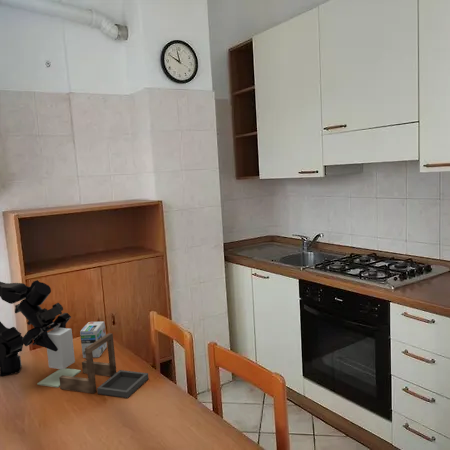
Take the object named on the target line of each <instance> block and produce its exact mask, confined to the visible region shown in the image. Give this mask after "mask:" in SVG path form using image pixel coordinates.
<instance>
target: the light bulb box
mask: <svg viewBox="0 0 450 450" xmlns="http://www.w3.org/2000/svg"><path fill="white" fill-rule="evenodd" d="M79 335H80V336H79V337H80V344H81V352H82V358H83V359H86V354H85V348H86V347H88V346H89V345H91V344H93V343H94V342H96V341H97V340H99V339H100V338H102V337H104V336H105V335H107V334H106V324H105V321H89V322H87V323H86V324H85V325H84V326H83V327H82V328H81V330H80V331H79ZM107 348H108V346H107V342H106V343H104V344H103V345H101V346H100V347H98V348H97V349H95V350H94V351H92V354H93V358H100V356H102V354H103V352H104V351H105V350H106V349H107Z"/></svg>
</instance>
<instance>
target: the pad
mask: <svg viewBox="0 0 450 450" xmlns="http://www.w3.org/2000/svg"><path fill="white" fill-rule="evenodd" d="M81 372H82V370H81V369H75V368H67V367H66V368H65V369H57V370H56V371H54V372H53V373H51V374H49V375H48V376H47V377H45V378H43V379H42V380H40V381H39V382H37V385H38V386H42V387H43V386H44V387H52V388H60V379H59V377H61V376H62V375H64V376H71V377H76V376H78V374H79V373H81Z"/></svg>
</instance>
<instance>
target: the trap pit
mask: <svg viewBox="0 0 450 450" xmlns="http://www.w3.org/2000/svg"><path fill="white" fill-rule="evenodd" d="M116 372H117V373H116V374H114V375H113V376H112V377H109V378H108V379H107V380H105V381H104V382H103V383H102V384H100V385H99V386H98V387H96V393H97V395H99V396H100V395H101V396H107V397H108V396H109V397H115V398H122V399H123V398H124V399H129V398H130V397H131V396H132V395H133V394H134V393H135V392H136V391H137V390H139V388H141V387H142V386H143V385H144V384H145V383H146V382H147V381H148V380H149V379H150V377H149V373H147V372H140V371H133V370H132V371H131V370H124V369H123V370H122V369H119V370H118V371H116Z"/></svg>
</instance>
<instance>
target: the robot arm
mask: <svg viewBox="0 0 450 450" xmlns="http://www.w3.org/2000/svg"><path fill="white" fill-rule="evenodd" d="M51 293H52V288H51V287H50V285H49V284H46V283H44V282H40V281H39V280H38V279H37V280H34V281H32V282H31V284H30V286H27V284H26V283H23V282H12V283H11V282H10V283H8V282H7V283H6V282H2V281H0V299H1V300H2V301H3V302H6V303H7V304H10V305H11V304H15V303H17V302H20V303H18V304H15V305H14V307H15V308H14V314H18V313H20V314H22V315H23V316H24V318H26V320H27V323H26V324H27V325H28V326H32V328H30V329H29V330H27V332H26V333H25V335H22V333H21V332H20V331H18V329H17V327H15V326H11V327H10V328H9V327H6V326H5V324H4V323H2V322H1V321H0V377H5V376H9V375H14V374H19V373H20V372H21V370H22V366H23V365H22V359H21V355H19V352H22V351H23V347H24V346H25V347H29V346H30V345H33V346H35V345H37V346H39V347H43V348H45V349H47V348H48V349H50V350H53V351H55V352H56V351H57V350H58V349H57V347H56V346H55V344H54V343H53V342H52V341H51V339H50V338H49V337H48V332H50V331H51V330H53V329H55V328H57V327H58V328H67V323H68V322H69V321H70V320H71V319H72V316H71V315H70V314H69V312H64V313H63V312H62V311H64V307H63V305H62V304H61V303H60V302H57V303H54V304H53V305H52V307H51V308H50V309H47V308H46V307H44V308H42V307H41V305H42V304H44V302H45V301H46V300H47V298H48V297H49V296H50V294H51Z"/></svg>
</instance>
